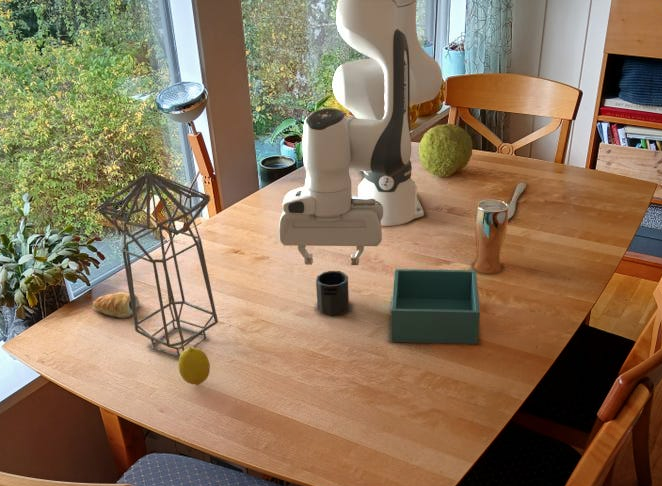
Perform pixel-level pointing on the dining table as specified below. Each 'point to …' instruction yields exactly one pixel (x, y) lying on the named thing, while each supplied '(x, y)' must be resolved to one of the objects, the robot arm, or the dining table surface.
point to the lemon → (194, 365)
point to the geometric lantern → (162, 184)
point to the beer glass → (490, 234)
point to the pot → (332, 292)
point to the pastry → (115, 304)
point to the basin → (435, 306)
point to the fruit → (445, 149)
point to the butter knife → (515, 199)
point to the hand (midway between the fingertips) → (332, 263)
